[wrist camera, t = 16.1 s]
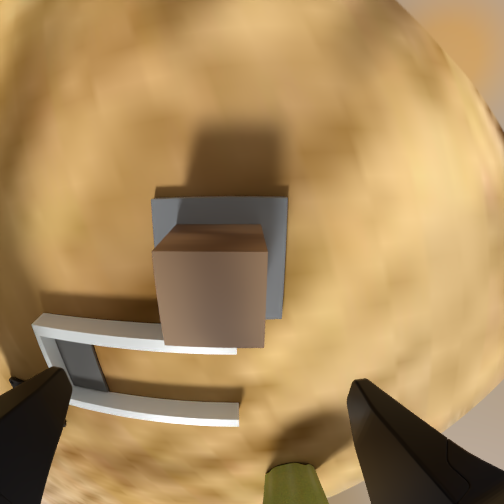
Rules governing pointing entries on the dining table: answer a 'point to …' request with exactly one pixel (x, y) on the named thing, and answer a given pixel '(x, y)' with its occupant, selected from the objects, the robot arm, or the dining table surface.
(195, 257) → the walnut block
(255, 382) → the dining table surface
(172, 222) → the slate coaster
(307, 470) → the plant pot
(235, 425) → the channel
